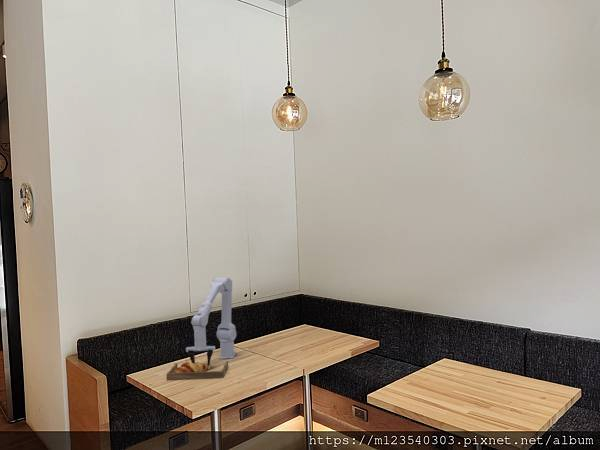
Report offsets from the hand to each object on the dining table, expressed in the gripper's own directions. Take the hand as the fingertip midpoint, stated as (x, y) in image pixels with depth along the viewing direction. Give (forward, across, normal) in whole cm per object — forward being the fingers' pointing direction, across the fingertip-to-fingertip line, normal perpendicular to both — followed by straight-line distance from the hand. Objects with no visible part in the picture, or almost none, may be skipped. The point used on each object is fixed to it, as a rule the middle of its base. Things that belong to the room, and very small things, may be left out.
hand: (201, 365), depth 226 cm
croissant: (+3, -4, -7) cm, 8 cm away
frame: (+2, 0, -7) cm, 7 cm away
